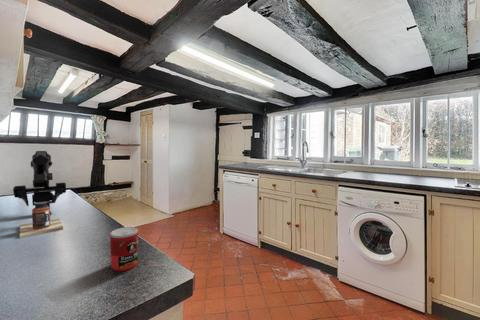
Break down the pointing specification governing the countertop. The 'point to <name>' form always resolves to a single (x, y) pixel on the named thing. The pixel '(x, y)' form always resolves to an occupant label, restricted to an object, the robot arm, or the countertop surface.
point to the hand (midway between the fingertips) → (41, 204)
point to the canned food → (124, 248)
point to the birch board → (28, 229)
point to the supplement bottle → (41, 215)
